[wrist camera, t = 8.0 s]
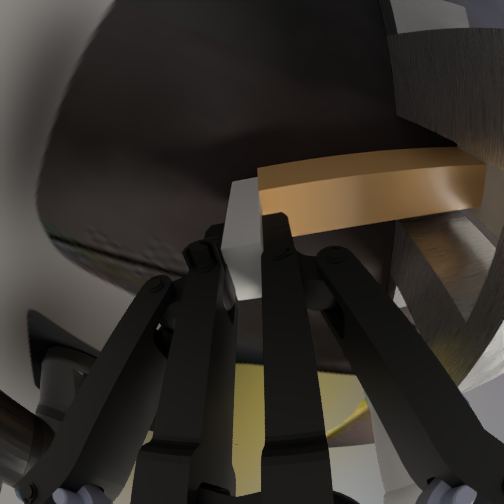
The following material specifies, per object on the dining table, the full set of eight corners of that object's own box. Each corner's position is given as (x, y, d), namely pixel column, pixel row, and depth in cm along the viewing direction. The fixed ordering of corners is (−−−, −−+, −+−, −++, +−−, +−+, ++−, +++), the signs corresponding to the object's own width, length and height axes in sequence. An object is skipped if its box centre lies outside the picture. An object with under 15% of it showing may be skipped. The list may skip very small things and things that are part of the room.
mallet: (268, 223, 19) (277, 315, 12) (253, 152, 16) (254, 217, 9) (496, 191, 16) (555, 244, 10) (502, 135, 13) (573, 179, 7)
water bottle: (343, 348, 28) (376, 573, 7) (400, 314, 25) (462, 551, 4) (370, 367, 31) (402, 551, 10) (418, 339, 28) (470, 529, 7)
